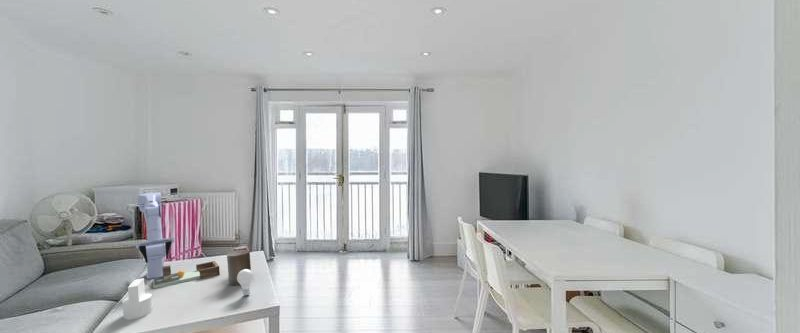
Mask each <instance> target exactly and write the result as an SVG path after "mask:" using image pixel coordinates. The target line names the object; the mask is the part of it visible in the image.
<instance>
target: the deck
mask: <svg viewBox="0 0 800 333" xmlns="http://www.w3.org/2000/svg"><path fill="white" fill-rule="evenodd" d="M175 277H178V276H175ZM171 278H174V277H171ZM197 279H198V280H199V279H200V272H199V270H198V271H197V270H194V271H188V272H184V276H182V277H179V280H175V281H171V282H166V283H162V284H157V285H155V283H154V279H152V285H153V289H158V288H163V287H166V286H173V285H176V284H179V283H184V282H189V281H193V280H197ZM161 280H163V279H161ZM161 280H157V281H161Z"/></svg>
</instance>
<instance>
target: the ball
mask: <svg viewBox="0 0 800 333" xmlns="http://www.w3.org/2000/svg"><path fill="white" fill-rule="evenodd" d="M176 273H177V276H178V277H182V276H184V273H185V271H183V270H178V271H177V272H176Z"/></svg>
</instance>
